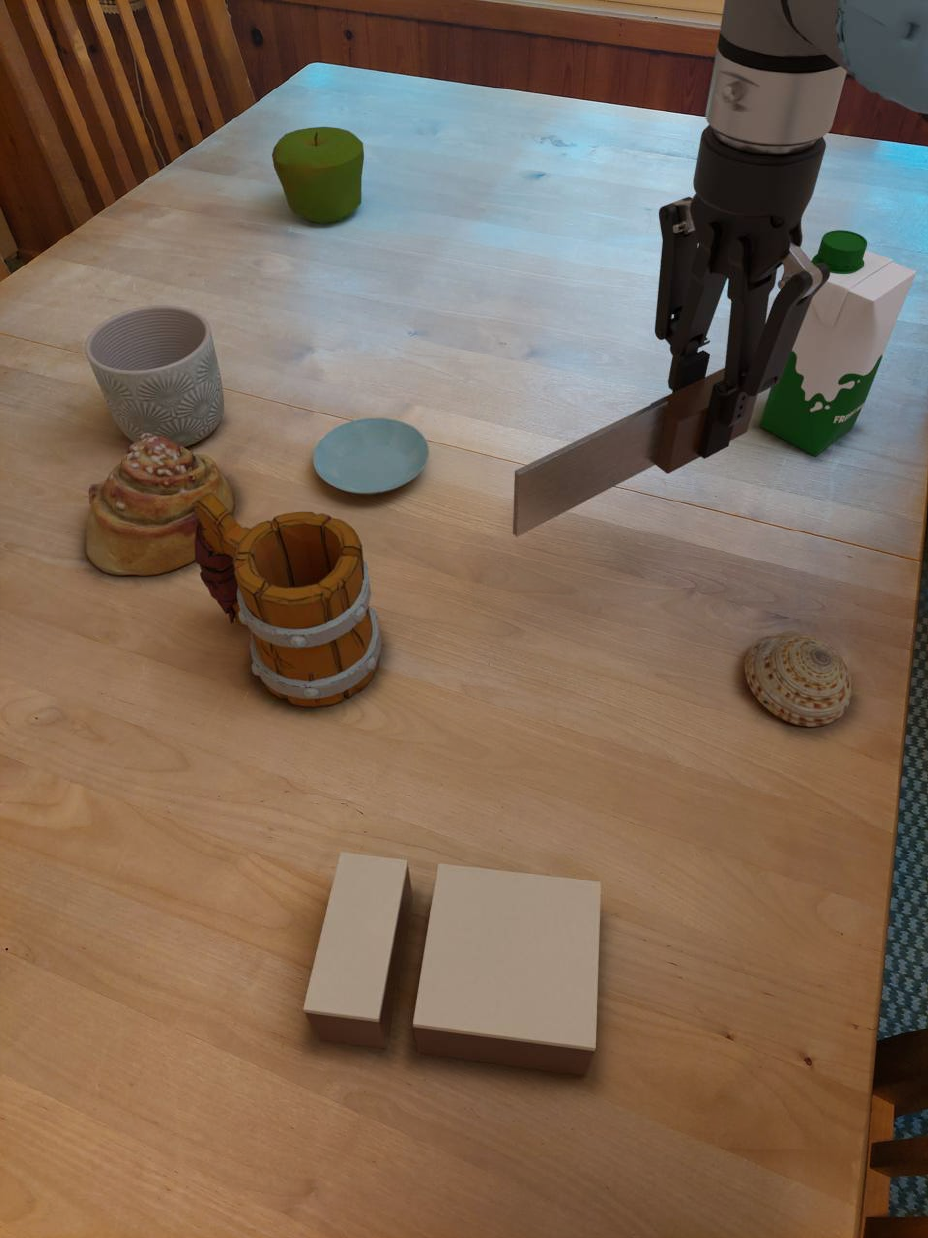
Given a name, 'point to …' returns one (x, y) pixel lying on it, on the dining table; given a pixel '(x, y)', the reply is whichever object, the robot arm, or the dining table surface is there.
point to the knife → (617, 454)
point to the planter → (158, 373)
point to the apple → (320, 172)
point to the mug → (293, 599)
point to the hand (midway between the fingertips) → (696, 437)
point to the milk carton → (837, 344)
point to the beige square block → (510, 970)
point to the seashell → (798, 678)
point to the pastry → (151, 508)
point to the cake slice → (360, 951)
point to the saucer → (371, 455)
